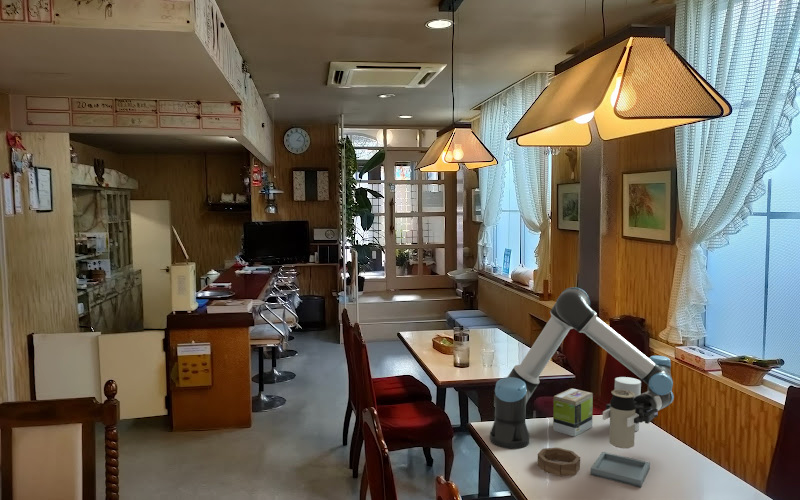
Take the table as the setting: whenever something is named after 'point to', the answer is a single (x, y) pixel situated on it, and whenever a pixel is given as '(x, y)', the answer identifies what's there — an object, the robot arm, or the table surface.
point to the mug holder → (556, 467)
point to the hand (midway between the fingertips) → (615, 419)
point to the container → (629, 388)
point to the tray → (620, 469)
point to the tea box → (572, 412)
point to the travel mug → (621, 419)
